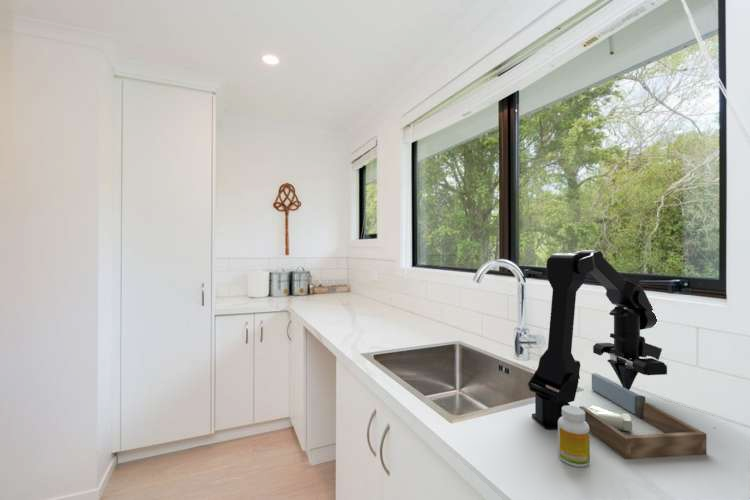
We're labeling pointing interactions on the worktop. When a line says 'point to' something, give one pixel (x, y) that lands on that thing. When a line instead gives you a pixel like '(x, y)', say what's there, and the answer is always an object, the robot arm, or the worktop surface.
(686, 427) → the rectangular wooden tray
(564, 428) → the supplement bottle
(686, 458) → the worktop surface
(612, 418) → the pipe fitting
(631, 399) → the grey rectangular bar
